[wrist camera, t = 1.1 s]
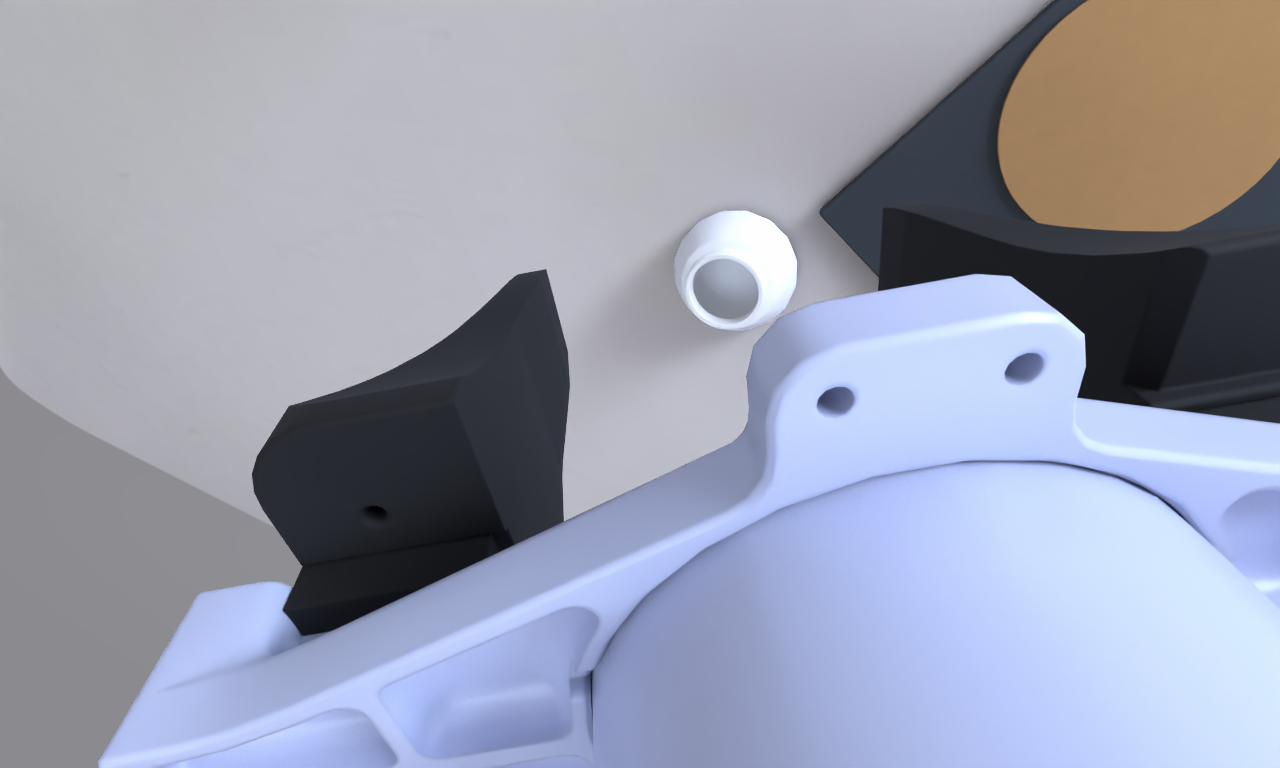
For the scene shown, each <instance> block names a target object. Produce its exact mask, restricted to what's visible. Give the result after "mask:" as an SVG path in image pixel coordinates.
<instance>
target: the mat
mask: <svg viewBox="0 0 1280 768" xmlns="http://www.w3.org/2000/svg"><path fill="white" fill-rule="evenodd" d="M911 202H923V203H933V204H939V205H945V206H950V207H955V208H960V209H965V210H970V211H975V212H980V213H985V214H990V215H995V216H1000V217H1005V218H1011V219H1016V220H1022V221H1029V222H1035V223H1041V224H1048V225H1056V226H1064V227H1075V228H1086V229H1098V230H1116V231H1198V230H1217V229H1235V228H1249V227H1258V226H1268V225H1277V224H1280V0H1054V1H1053V2H1052V3H1051V4H1050V5H1049V6H1048V7H1047V8H1045V9H1044V10H1043V11H1042V12H1041V13H1040V14H1039V15H1038V16H1037V17H1035V18H1034V19H1033V20H1032V21H1031V22H1030V23H1029V24H1028V25H1026V26H1025V27H1024V28H1023V29H1022V30H1021V31H1020V32H1019V33H1018V34H1016V35H1015V36H1014V37H1013V38H1012V39H1011V40H1010V41H1009V42H1007V43H1006V44H1005V45H1004V46H1003V47H1002V48H1001V49H1000V50H998V51H997V52H996V53H995V54H994V55H993V56H992V57H991V58H990V59H988V60H987V61H986V62H985V63H984V64H983V65H982V66H981V67H979V68H978V69H977V70H976V71H975V72H974V73H973V74H972V75H971V76H969V77H968V78H967V79H966V80H965V81H964V82H963V83H962V84H960V85H959V86H958V87H957V88H956V89H955V90H954V91H953V92H952V93H950V94H949V95H948V96H947V97H946V98H945V99H944V100H943V101H941V102H940V103H939V104H938V105H937V106H936V107H935V108H934V109H932V110H931V111H930V112H929V113H928V114H927V115H926V116H925V117H924V118H922V119H921V120H920V121H919V122H918V123H917V124H916V125H915V126H913V127H912V128H911V129H910V130H909V131H908V132H907V133H906V134H905V135H903V136H902V137H901V138H900V139H899V140H898V141H897V142H896V143H894V144H893V145H892V146H891V147H890V148H889V149H888V150H887V151H885V152H884V153H883V154H882V155H881V156H880V157H879V158H878V159H877V160H875V161H874V162H873V163H872V164H871V165H870V166H869V167H868V168H866V169H865V170H864V171H863V172H862V173H861V174H860V175H859V176H858V177H856V178H855V179H854V180H853V181H852V182H851V183H850V184H849V185H847V186H846V187H845V188H844V189H843V190H842V191H841V192H840V193H839V194H837V195H836V196H835V197H834V198H833V199H832V200H831V201H830V202H828V203H827V204H826V205H825V206H824V207H823V208H822V209H821V210H820V215H821V216H822V217H823V219H824V220H825V221H826V222H827V223H828V224H829V225H830V226H831V227H832V228H833V229H834V230H835V231H836V232H837V233H838V235H839V236H840V237H841V238H842V239H843V240H844V241H845V242H846V243H847V244H848V245H849V246H850V247H851V248H852V249H853V251H854V252H855V253H856V254H857V255H858V256H859V257H860V258H861V259H862V260H863V261H864V262H865V263H866V264H867V265H868V267H869V268H870V269H871V270H872V271H873V272H874V273H875V274H876V275H877V276H878V277H879V268H880V251H881V233H882V216H883V208H884V207H889V206H895V205H900V204H906V203H911Z"/></svg>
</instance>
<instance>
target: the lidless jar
mask: <svg viewBox="0 0 1280 768" xmlns="http://www.w3.org/2000/svg"><path fill="white" fill-rule="evenodd" d="M674 272H675V285H676V287H677V289H678V291H679V293H680V296H681V298H682V300H683V302H684V304H685V306H686V307H687V308H688V309H689V310H690V311H691V312H692V313H694V314H695V316H696V317H697V318H698V319H700V320H701V321H702V322H704V323H705V324H707V325H709V326H712V327H715V328H718V329H721V330H737V331H747V330H750V329H753V328H756V327H759V326H762V325H765V324H768V323H769V322H770V321H771V320H773V319H774V318H775V317H776V316H777V315H778V314H780V313H781V312H782V311H783V310H784V309H785V308H786V306H787V304H788V302H789V300H790V298H791V296H792V294H793V292H794V290H795V288H796V282H797V259H796V256H795V254H794V251H793V249H792V247H791V244H790V242H789V239H788V237H787V236H786V235H785V234H784V233H783V232H782V231H781V230H780V229H779V228H778V227H777V226H776V225H775V224H774V223H773V222H771V221H770V220H768V219H766V218H764V217H761V216H759V215H756V214H754V213H751V212H749V211H721V212H718V213H716V214H714V215H711V216H709V217H707V218H705V219H702V220H700V221H699V222H698V223H697V224H696V225H695V226H694V227H693V228H692V229H691V230H690V231H689V233H688V234H687V235H686V236H685V237H684V238H683V239H682V240H681V243H680V246H679V249H678V252H677V254H676V257H675V260H674Z"/></svg>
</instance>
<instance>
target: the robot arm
mask: <svg viewBox="0 0 1280 768" xmlns="http://www.w3.org/2000/svg"><path fill="white" fill-rule="evenodd" d="M569 389H570V380H569V364H568V351H567V347H566V343H565V339H564V335H563V332H562V328H561V324H560V320H559V316H558V313H557V309H556V305H555V301H554V297H553V294H552V290H551V286H550V282H549V278H548V275H547V271H546V269H545V270H540V271H534V272H529V273H523V274H518V275H517V276H515V277H514V278H512V279H511V280H510V281H509V282H508V283H507V284H506V285H505V286H504V287H503V288H502V289H501V290H500V291H499V292H498V293H497V294H496V295H495V296H494V297H493V298H492V299H491V300H490V301H489V302H488V303H486V304H485V305H484V306H483V307H482V308H481V309H480V310H479V311H478V312H477V313H476V314H474V315H473V316H472V317H471V318H470V319H469V320H467V321H466V322H465V323H464V324H463V325H462V326H460V327H459V328H458V329H457V330H456V331H454V332H453V333H452V334H450V335H449V336H448V337H446V338H445V339H443V340H442V341H441V342H439V343H437V344H436V345H434V346H433V347H431V348H430V349H428V350H427V351H425V352H424V353H422V354H420V355H418V356H416V357H414V358H413V359H411V360H409V361H407V362H405V363H403V364H401V365H399V366H398V367H396V368H394V369H392V370H390V371H388V372H386V373H383V374H381V375H379V376H377V377H374V378H372V379H370V380H367V381H365V382H362V383H359V384H357V385H354V386H352V387H349V388H346V389H344V390H341V391H338V392H335V393H331V394H328V395H325V396H322V397H318V398H315V399H312V400H308V401H305V402H302V403H298V404H295V405H291V406H289V407H288V409H287V410H286V412H285V413H284V415H283V417H282V418H281V420H280V421H279V423H278V424H277V426H276V427H275V429H274V431H273V432H272V434H271V435H270V437H269V438H268V440H267V442H266V443H265V445H264V446H263V448H262V449H261V451H260V453H259V454H258V456H257V458H256V462H255V465H254V469H253V472H252V478H253V486H254V493H255V495H256V497H257V499H258V501H259V503H260V505H261V507H262V509H263V511H264V512H265V513H266V515H267V516H268V518H269V519H270V521H271V522H272V523H273V525H274V526H275V528H276V529H277V531H278V532H279V533H280V535H281V536H282V538H283V539H284V541H285V542H286V544H287V545H288V546H289V548H290V549H291V551H292V552H293V554H294V555H295V556H296V558H297V559H298V561H299V562H300V564H301V565H302V566H303V567H302V569H301V571H300V574H299V576H298V578H297V580H296V582H295V585H294V587H293V588H292V587H291V586H290V585H287V584H284V583H281V582H277V581H270V582H269V581H268V582H267V581H266V582H260V583H254V584H248V585H243V586H237V587H231V588H225V589H220V590H214V591H208V592H202V593H199V594H198V595H197V597H196V598H195V600H194V602H193V603H192V605H191V607H190V608H189V610H188V612H187V613H186V615H185V617H184V618H183V620H182V622H181V623H180V625H179V627H178V628H177V630H176V632H175V634H174V635H173V637H172V639H171V640H170V642H169V644H168V645H167V647H166V649H165V650H164V652H163V654H162V655H161V657H160V659H159V661H158V662H157V664H156V666H155V667H154V669H153V670H152V672H151V674H150V675H149V677H148V679H147V681H146V683H145V684H144V686H143V687H142V689H141V691H140V692H139V694H138V696H137V697H136V699H135V701H134V702H133V704H132V706H131V707H130V709H129V711H128V712H127V714H126V716H125V718H124V719H123V721H122V723H121V724H120V726H119V728H118V729H117V731H116V733H115V735H114V736H113V738H112V740H111V741H110V743H109V745H108V746H107V748H106V749H105V751H104V753H103V754H102V756H101V758H100V760H99V761H98V766H99V768H1280V224H1277V225H1268V226H1258V227H1249V228H1235V229H1217V230H1198V231H1116V230H1098V229H1086V228H1075V227H1064V226H1056V225H1048V224H1041V223H1035V222H1029V221H1022V220H1016V219H1011V218H1005V217H1000V216H995V215H990V214H985V213H980V212H975V211H970V210H965V209H960V208H955V207H950V206H945V205H939V204H933V203H923V202H911V203H906V204H900V205H895V206H889V207H884V208H883V216H882V233H881V251H880V268H879V285H878V292H872V293H867V294H861V295H856V296H850V297H845V298H839V299H834V300H828V301H823V302H817V303H813V304H811V305H809V306H806V307H804V308H801V309H799V310H797V311H794V312H792V313H789V314H787V315H785V316H782V317H780V318H778V319H777V320H776V321H775V323H774V324H773V325H772V326H771V327H770V328H769V329H768V330H767V331H766V332H765V334H764V335H763V336H762V337H761V338H760V339H759V340H758V341H757V342H756V343H755V345H754V346H753V351H752V355H751V359H750V364H749V368H748V372H747V389H748V401H749V413H748V422H747V425H746V427H745V430H744V431H743V433H742V434H741V435H740V436H739V437H738V438H737V439H736V440H735V441H733V442H732V443H730V444H728V445H726V446H724V447H722V448H719V449H717V450H715V451H713V452H711V453H709V454H707V455H705V456H702V457H700V458H698V459H696V460H694V461H692V462H690V463H688V464H685V465H683V466H681V467H679V468H677V469H675V470H673V471H671V472H668V473H666V474H664V475H662V476H660V477H658V478H656V479H654V480H651V481H649V482H647V483H645V484H643V485H641V486H639V487H637V488H634V489H632V490H630V491H628V492H626V493H624V494H622V495H620V496H617V497H615V498H613V499H611V500H609V501H607V502H605V503H603V504H600V505H598V506H596V507H594V508H592V509H590V510H588V511H586V512H583V513H581V514H579V515H577V516H575V517H573V518H571V519H569V520H566V521H564V516H563V486H562V470H563V454H564V444H565V433H566V423H567V412H568V401H569Z"/></svg>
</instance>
